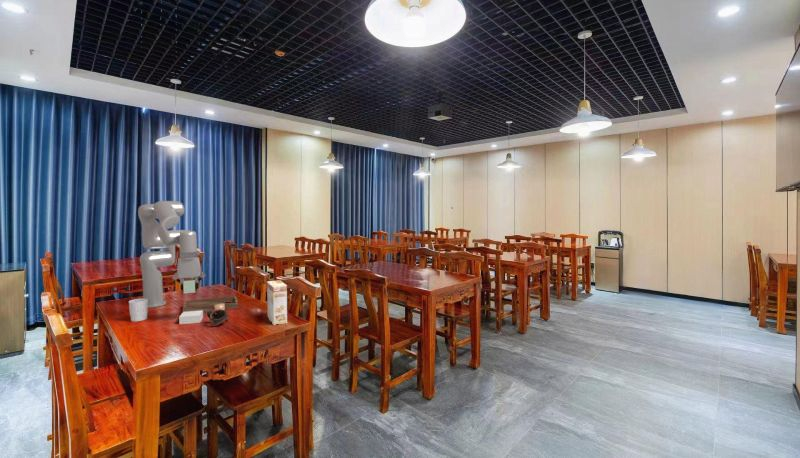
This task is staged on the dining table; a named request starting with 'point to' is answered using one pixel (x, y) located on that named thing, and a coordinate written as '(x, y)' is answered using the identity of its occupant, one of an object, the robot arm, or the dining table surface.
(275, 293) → the coffeecake box
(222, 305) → the glossy beige egg
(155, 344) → the dining table surface
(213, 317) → the pottery mug
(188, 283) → the green block
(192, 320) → the base slab
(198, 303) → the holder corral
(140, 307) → the white cup
